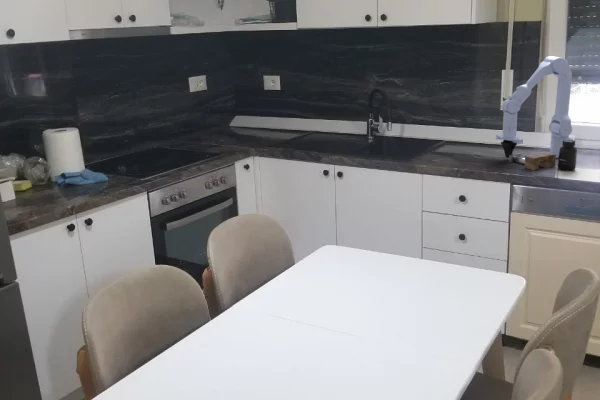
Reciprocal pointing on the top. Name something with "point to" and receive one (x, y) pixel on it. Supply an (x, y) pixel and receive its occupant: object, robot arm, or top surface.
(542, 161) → the block
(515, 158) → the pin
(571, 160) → the supplement bottle
